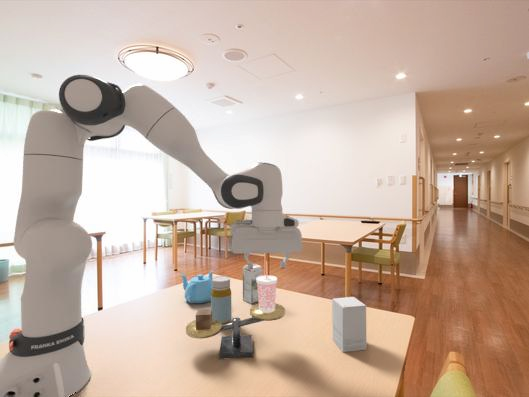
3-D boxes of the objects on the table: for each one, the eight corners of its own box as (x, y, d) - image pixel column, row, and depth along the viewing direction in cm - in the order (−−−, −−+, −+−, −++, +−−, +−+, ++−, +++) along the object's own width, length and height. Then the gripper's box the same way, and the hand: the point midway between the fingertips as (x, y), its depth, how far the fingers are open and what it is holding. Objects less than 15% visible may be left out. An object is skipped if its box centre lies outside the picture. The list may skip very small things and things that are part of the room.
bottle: (227, 327, 92) (227, 282, 92) (207, 325, 94) (207, 281, 94) (234, 318, 99) (233, 276, 99) (215, 316, 101) (215, 275, 100)
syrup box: (253, 296, 120) (252, 263, 119) (262, 300, 115) (262, 265, 115) (242, 300, 116) (242, 265, 116) (251, 304, 111) (251, 268, 111)
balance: (182, 362, 73) (182, 321, 73) (189, 342, 83) (189, 305, 83) (287, 356, 76) (287, 316, 75) (282, 337, 86) (282, 301, 85)
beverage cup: (252, 310, 79) (251, 261, 79) (264, 303, 84) (264, 257, 84) (269, 315, 76) (269, 264, 75) (281, 308, 81) (281, 260, 80)
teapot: (184, 308, 108) (184, 282, 108) (180, 295, 122) (179, 272, 122) (221, 302, 114) (221, 277, 114) (213, 290, 128) (213, 268, 128)
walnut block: (195, 329, 76) (195, 315, 76) (198, 322, 80) (198, 309, 80) (210, 328, 77) (210, 314, 77) (212, 322, 81) (212, 308, 81)
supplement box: (367, 350, 78) (367, 305, 78) (342, 352, 77) (342, 307, 77) (354, 336, 86) (354, 296, 85) (331, 339, 84) (331, 297, 84)
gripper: (229, 221, 76) (229, 271, 76) (304, 220, 77) (303, 270, 77) (230, 219, 82) (230, 266, 82) (299, 219, 84) (299, 265, 84)
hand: (266, 268), depth 80 cm, fingers open, 8 cm apart
